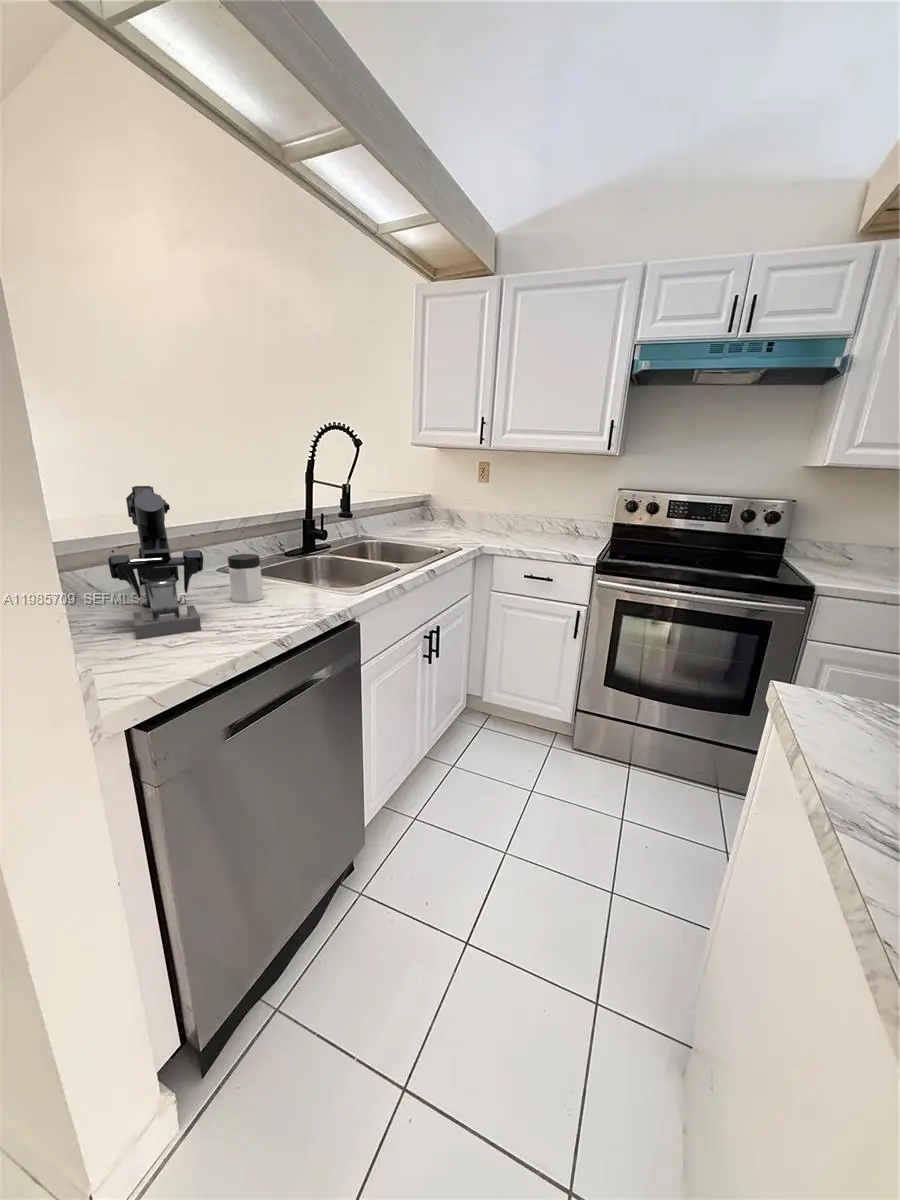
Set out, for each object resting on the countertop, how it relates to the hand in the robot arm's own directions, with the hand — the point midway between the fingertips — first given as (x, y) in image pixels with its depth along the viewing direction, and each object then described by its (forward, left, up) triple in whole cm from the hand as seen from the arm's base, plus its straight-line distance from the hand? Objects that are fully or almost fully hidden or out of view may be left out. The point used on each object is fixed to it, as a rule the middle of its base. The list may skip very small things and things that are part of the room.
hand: (163, 594), depth 112 cm
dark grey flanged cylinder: (-1, +1, -8) cm, 8 cm away
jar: (-1, +27, -8) cm, 28 cm away
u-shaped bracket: (-1, +1, -8) cm, 8 cm away
